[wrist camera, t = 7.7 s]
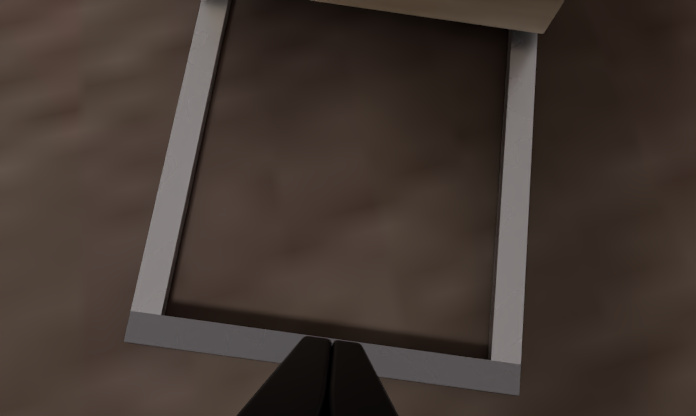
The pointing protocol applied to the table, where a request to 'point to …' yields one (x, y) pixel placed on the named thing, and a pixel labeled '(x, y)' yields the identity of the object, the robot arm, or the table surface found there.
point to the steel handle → (276, 345)
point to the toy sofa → (471, 11)
